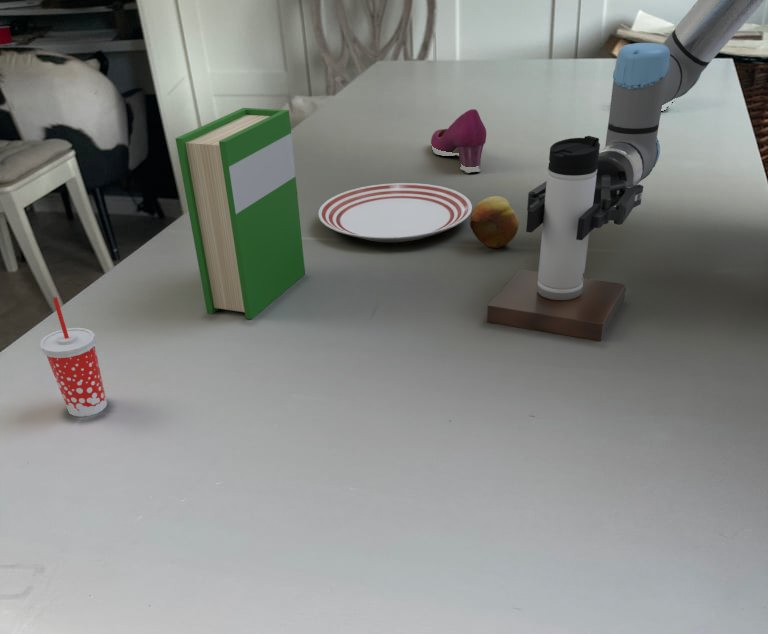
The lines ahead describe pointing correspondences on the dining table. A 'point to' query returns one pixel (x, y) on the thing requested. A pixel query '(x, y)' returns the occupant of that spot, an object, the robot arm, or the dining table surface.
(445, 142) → the high heel
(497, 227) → the fruit
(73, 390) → the beverage cup
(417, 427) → the dining table surface
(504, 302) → the serving board
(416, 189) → the dinner plate
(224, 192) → the hardback book
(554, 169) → the travel mug
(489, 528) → the dining table surface
